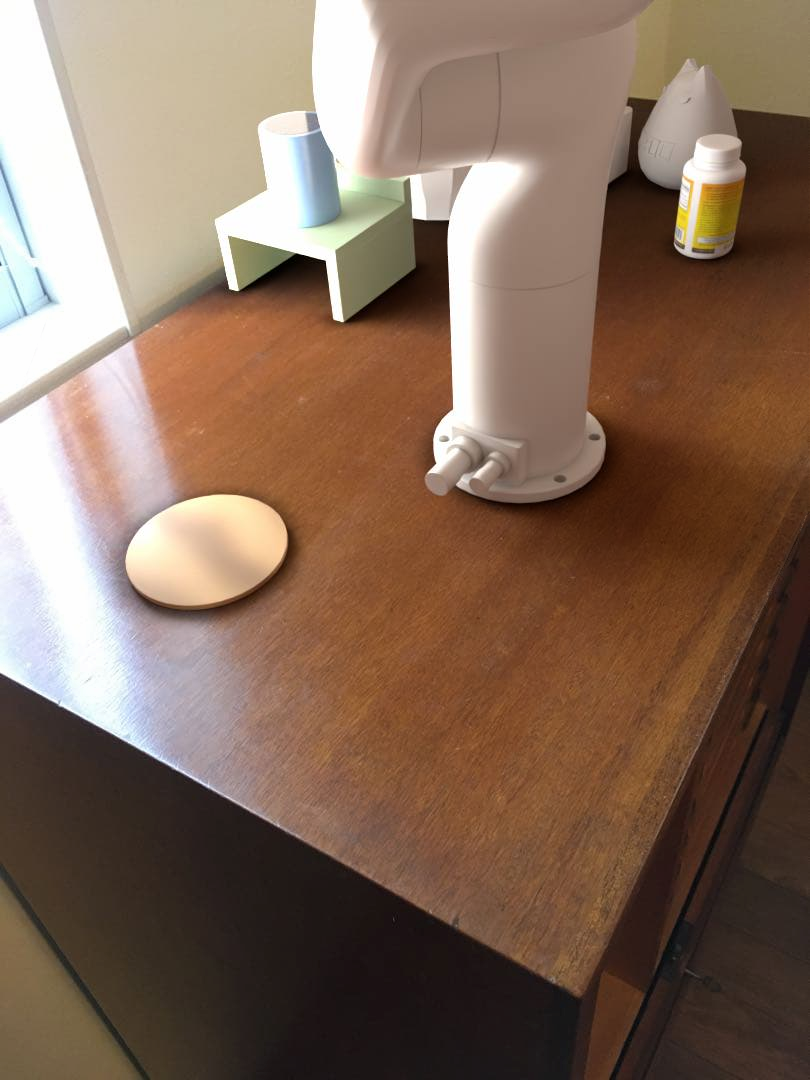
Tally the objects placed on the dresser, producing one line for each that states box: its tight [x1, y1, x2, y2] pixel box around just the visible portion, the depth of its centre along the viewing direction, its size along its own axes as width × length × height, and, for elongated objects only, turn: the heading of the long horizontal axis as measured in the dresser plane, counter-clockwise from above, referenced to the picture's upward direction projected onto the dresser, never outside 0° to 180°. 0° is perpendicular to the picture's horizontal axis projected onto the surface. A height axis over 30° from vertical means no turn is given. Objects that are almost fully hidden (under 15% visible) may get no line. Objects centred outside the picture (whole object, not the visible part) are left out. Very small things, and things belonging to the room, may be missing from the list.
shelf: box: [214, 161, 417, 323], centre depth 89 cm, size 12×14×9 cm
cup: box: [257, 110, 342, 228], centre depth 84 cm, size 6×6×8 cm
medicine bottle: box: [608, 105, 634, 185], centre depth 101 cm, size 7×7×12 cm
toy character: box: [637, 57, 738, 191], centre depth 99 cm, size 10×10×12 cm
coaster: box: [124, 494, 289, 611], centre depth 63 cm, size 11×11×1 cm
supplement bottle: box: [673, 134, 747, 260], centre depth 88 cm, size 6×6×10 cm
